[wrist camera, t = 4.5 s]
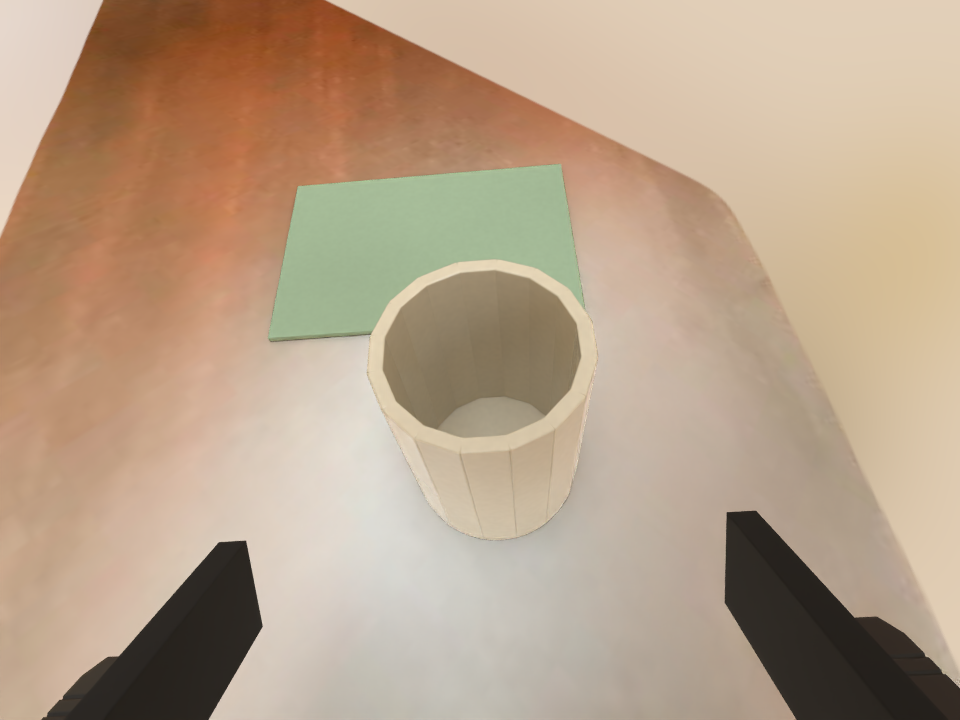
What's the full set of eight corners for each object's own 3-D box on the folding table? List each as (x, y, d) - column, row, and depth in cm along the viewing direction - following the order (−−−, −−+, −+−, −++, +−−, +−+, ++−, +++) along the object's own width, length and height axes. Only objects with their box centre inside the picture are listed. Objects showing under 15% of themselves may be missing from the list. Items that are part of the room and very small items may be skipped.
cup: (565, 388, 33) (580, 251, 23) (584, 535, 28) (613, 444, 18) (421, 398, 33) (375, 267, 23) (417, 545, 28) (359, 460, 19)
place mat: (560, 167, 42) (560, 163, 42) (585, 318, 35) (586, 315, 35) (299, 190, 43) (297, 186, 43) (270, 341, 36) (267, 338, 36)
